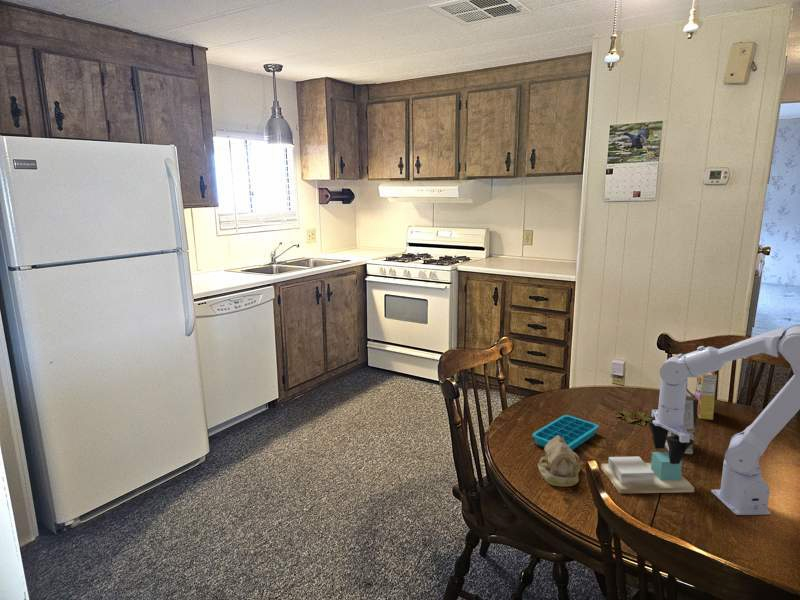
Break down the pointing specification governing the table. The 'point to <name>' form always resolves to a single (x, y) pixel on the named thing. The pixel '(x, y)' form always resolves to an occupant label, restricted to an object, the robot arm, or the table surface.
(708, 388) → the candy box
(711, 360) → the robot arm
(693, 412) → the coffee box
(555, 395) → the table surface
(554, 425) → the ice cube tray
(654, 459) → the teal cube
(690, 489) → the stacking base
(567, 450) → the ceramic model
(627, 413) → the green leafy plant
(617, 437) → the table surface
